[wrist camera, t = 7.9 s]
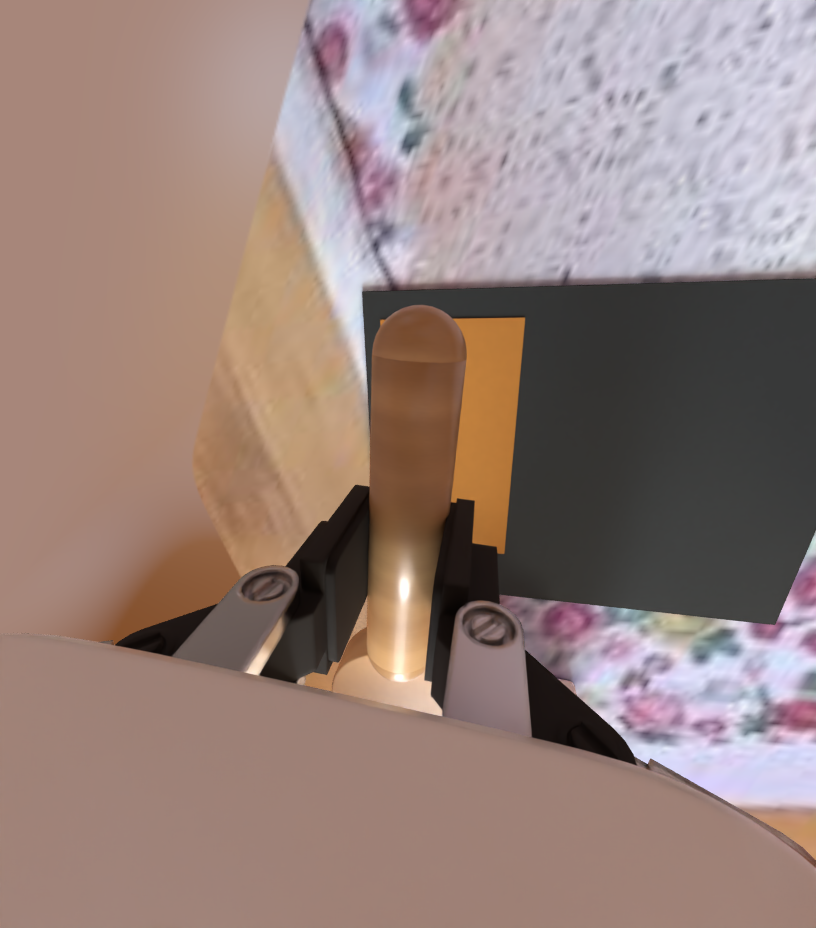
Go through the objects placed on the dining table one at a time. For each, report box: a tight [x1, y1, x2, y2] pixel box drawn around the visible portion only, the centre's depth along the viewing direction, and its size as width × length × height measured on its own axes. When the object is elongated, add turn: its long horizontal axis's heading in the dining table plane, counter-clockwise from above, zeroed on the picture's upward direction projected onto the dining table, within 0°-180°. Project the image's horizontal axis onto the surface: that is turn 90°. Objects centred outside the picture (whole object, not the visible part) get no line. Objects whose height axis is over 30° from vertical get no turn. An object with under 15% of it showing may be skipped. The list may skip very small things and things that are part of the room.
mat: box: [362, 278, 816, 625], centre depth 23 cm, size 26×20×1 cm
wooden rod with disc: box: [332, 305, 467, 716], centre depth 11 cm, size 15×5×2 cm, turn 177°
